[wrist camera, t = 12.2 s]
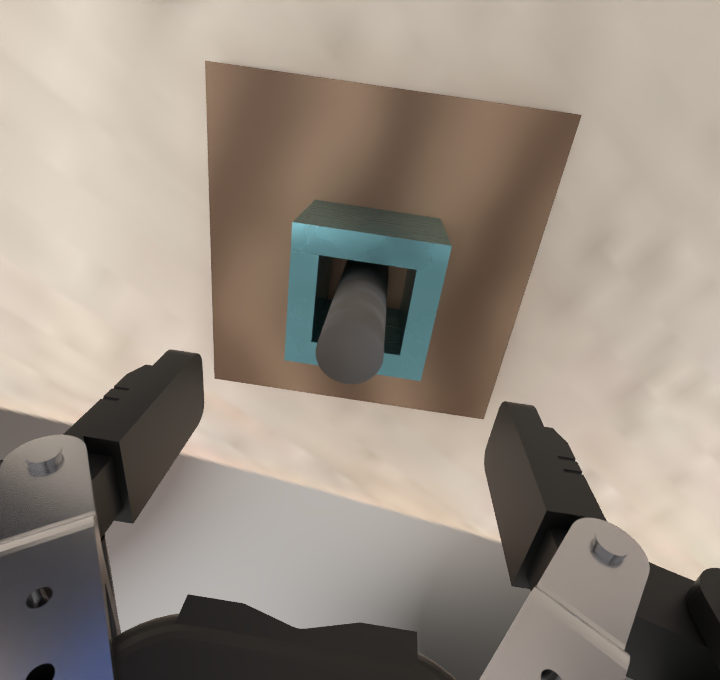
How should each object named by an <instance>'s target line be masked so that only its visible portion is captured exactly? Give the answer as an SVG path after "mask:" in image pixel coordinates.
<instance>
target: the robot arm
mask: <svg viewBox="0 0 720 680" xmlns="http://www.w3.org/2000/svg"><path fill="white" fill-rule="evenodd" d="M203 409H204V389H203V369H202V358H201V356H200V355H199V354H197V353H191V352H184V351H177V350H168V351H167V352H166V353H165V354H164V355H163V356H162V357H161V358H160V359H159V360H158V361H157V362H156V363H155V364H154V365H153V366H151V365H144V366H142V367H140V368H138V369H136V370H134V371H132V372H130V373H128V374H127V375H126V376H125V377H123V378H122V379H121V380H120V381H119V382H118V383H117V384H116V385H115V386H114V389H111V390H110V391H109V392H108V393H107V394H105V395H104V398H103V399H100V400H99V401H98V402H97V403H96V404H95V405H94V406H93V407H92V408H91V409H90V410H89V411H88V412H86V413H85V414H84V415H83V416H82V417H81V418H80V419H79V420H78V421H77V422H76V423H75V424H74V425H73V426H72V427H71V428H70V429H68V431H66V432H65V433H64V434H63V435H51V436H46V437H42V438H38V439H35V440H32V441H30V442H28V443H25V444H23V445H21V446H20V447H18V448H16V449H15V450H13V451H12V452H11V453H10V454H9V455H8V456H7V457H6V458H5V459H4V460H0V680H457V679H456V678H454V676H453V675H451V674H450V673H449V672H448V671H446V670H445V669H444V668H442V667H441V666H440V665H439V664H437V663H435V662H434V661H432V660H431V659H429V658H427V657H426V656H424V655H422V654H420V653H418V652H417V632H414V631H409V630H402V629H396V628H390V627H384V626H378V625H371V624H365V623H353V624H344V625H335V626H326V627H317V628H308V629H298V628H295V627H292V626H290V625H288V624H286V623H284V622H282V621H279V620H277V619H275V618H273V617H271V616H269V615H267V614H265V613H263V612H261V611H258V610H256V609H254V608H252V607H250V606H248V605H246V604H243V603H237V602H231V601H225V600H218V599H213V598H207V597H201V596H194V595H187V598H186V600H185V602H184V604H183V607H182V609H181V611H180V613H179V614H174V615H168V616H164V617H160V618H156V619H153V620H150V621H147V622H145V623H142V624H139V625H137V626H135V627H133V628H131V629H129V630H126V631H125V632H123V633H121V630H120V625H119V619H118V613H117V607H116V600H115V594H114V587H113V580H112V573H111V567H110V560H109V553H108V546H107V539H106V535H105V532H106V531H107V529H108V528H109V527H110V525H111V524H112V522H113V521H114V520H115V521H120V522H127V523H134V522H135V520H136V519H137V517H138V516H139V514H140V513H141V511H142V509H143V508H144V506H145V505H146V503H147V502H148V500H149V499H150V497H151V496H152V494H153V493H154V491H155V489H156V488H157V487H158V485H159V484H160V482H161V480H162V479H163V478H164V476H165V474H166V473H167V471H168V470H169V468H170V467H171V465H172V464H173V462H174V460H175V459H176V458H177V456H178V455H179V453H180V452H181V450H182V449H183V447H184V446H185V444H186V443H187V441H188V439H189V438H190V436H191V435H192V433H193V432H194V430H195V429H196V427H197V426H198V424H199V422H200V420H201V417H202V414H203ZM484 466H485V473H486V477H487V481H488V486H489V490H490V494H491V499H492V503H493V507H494V512H495V516H496V520H497V525H498V529H499V533H500V538H501V542H502V546H503V550H504V554H505V559H506V563H507V567H508V572H509V576H510V581H511V585H512V586H514V587H521V588H527V589H530V590H531V593H530V595H529V596H528V598H527V600H526V601H525V603H524V605H523V607H522V609H521V610H520V612H519V613H518V615H517V617H516V618H515V620H514V622H513V624H512V625H511V627H510V629H509V631H508V632H507V634H506V635H505V637H504V639H503V641H502V642H501V644H500V646H499V648H498V649H497V651H496V653H495V654H494V656H493V658H492V659H491V661H490V663H489V665H488V666H487V668H486V670H485V671H484V673H483V675H482V676H481V678H480V680H625V676H627V677H629V678H631V679H633V680H720V568H710V569H706V570H705V571H703V572H702V573H701V575H700V576H699V577H698V579H697V580H696V581H693V580H690V579H688V578H685V577H683V576H681V575H678V574H676V573H673V572H671V571H668V570H666V569H664V568H661V567H659V566H656V565H654V564H652V563H650V562H649V561H648V558H647V556H646V554H645V552H644V551H643V549H642V548H641V547H640V545H639V544H638V543H637V542H636V541H635V540H634V539H633V538H632V537H631V536H630V535H628V534H627V533H626V532H625V531H623V530H622V529H620V528H619V527H617V526H615V525H613V524H611V523H609V522H607V521H606V519H605V517H604V515H603V513H602V511H601V509H600V507H599V505H598V503H597V501H596V499H595V497H594V495H593V493H592V491H591V489H590V487H589V485H588V483H587V481H586V479H585V477H584V475H582V471H581V469H580V467H579V465H578V463H577V462H575V457H574V455H573V453H572V451H571V449H570V447H569V445H568V443H567V442H566V441H565V440H564V439H563V438H562V437H561V436H560V435H559V434H558V433H557V432H556V431H555V430H554V429H553V428H549V427H544V426H543V423H542V421H541V419H540V417H539V414H538V412H537V410H536V408H535V407H534V406H532V405H525V404H519V403H512V402H505V401H504V402H503V403H502V404H501V406H500V408H499V411H498V414H497V417H496V420H495V422H494V425H493V428H492V431H491V434H490V437H489V440H488V443H487V446H486V450H485V459H484Z"/></svg>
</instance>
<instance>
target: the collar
mask: <svg viewBox="0 0 720 680" xmlns="http://www.w3.org/2000/svg"><path fill="white" fill-rule="evenodd" d="M451 248H452V245H451V243H450V240H449V238H448V235H447V233H446V231H445V228H444V226H443V223H442V221H441V219H440V218H435V217H428V216H421V215H415V214H408V213H401V212H395V211H388V210H381V209H374V208H368V207H361V206H354V205H348V204H341V203H334V202H328V201H321V200H314V201H313V202H312V203H311V204H310V205H309V206H308V207H307V208H306V209H305V210H304V211H303V212H302V213H301V214H300V215H299V216H298V217H297V218H296V219H295V220H294V221H293V222H292V236H291V253H290V270H289V288H288V305H287V322H286V339H285V356H284V360H286V361H292V362H299V363H305V364H312V365H318V363H317V360H316V346H317V343H318V340H319V337H320V334H321V331H322V329H323V326H324V323H325V320H326V317H327V315H328V312H329V309H330V306H331V303H332V301H333V299H328V293H329V284H330V274H331V264H332V257H335V258H342V259H348V260H355V261H362V262H368V263H375V264H382V265H388V266H395V267H402V268H407V272H406V278H405V283H404V288H403V294H402V299H401V304H400V309H394V308H387V307H386V324H385V340H384V357H383V363H382V366H381V368H380V370H379V371H378V372H377V375H384V376H390V377H397V378H403V379H410V380H416V381H421V378H422V373H423V369H424V365H425V360H426V356H427V352H428V347H429V343H430V339H431V334H432V330H433V326H434V321H435V317H436V313H437V308H438V304H439V300H440V295H441V291H442V287H443V283H444V278H445V274H446V270H447V265H448V261H449V257H450V252H451ZM318 366H319V365H318Z"/></svg>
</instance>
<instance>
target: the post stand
mask: <svg viewBox="0 0 720 680" xmlns="http://www.w3.org/2000/svg"><path fill="white" fill-rule="evenodd" d="M205 69H206V103H207V137H208V170H209V204H210V238H211V272H212V305H213V339H214V373H215V379H221V380H228V381H235V382H241V383H248V384H254V385H261V386H268V387H274V388H281V389H287V390H294V391H301V392H307V393H314V394H320V395H327V396H334V397H340V398H347V399H353V400H360V401H367V402H373V403H380V404H386V405H393V406H400V407H406V408H413V409H419V410H426V411H433V412H439V413H446V414H452V415H459V416H466V417H472V418H479V419H484V416H485V413H486V410H487V407H488V404H489V400H490V397H491V394H492V391H493V388H494V385H495V382H496V379H497V376H498V373H499V369H500V366H501V363H502V360H503V357H504V354H505V351H506V348H507V345H508V342H509V338H510V335H511V332H512V329H513V326H514V323H515V320H516V317H517V314H518V311H519V307H520V304H521V301H522V298H523V295H524V292H525V289H526V286H527V283H528V279H529V276H530V273H531V270H532V267H533V264H534V261H535V258H536V255H537V252H538V248H539V245H540V242H541V239H542V236H543V233H544V230H545V227H546V224H547V221H548V217H549V214H550V211H551V208H552V205H553V202H554V199H555V196H556V193H557V189H558V186H559V183H560V180H561V177H562V174H563V171H564V168H565V165H566V162H567V158H568V155H569V152H570V149H571V146H572V143H573V140H574V137H575V134H576V131H577V127H578V124H579V121H580V118H581V115H578V114H571V113H564V112H557V111H550V110H543V109H536V108H529V107H522V106H515V105H508V104H501V103H494V102H487V101H480V100H473V99H467V98H460V97H453V96H446V95H439V94H432V93H425V92H418V91H411V90H404V89H397V88H390V87H383V86H376V85H369V84H362V83H356V82H349V81H342V80H335V79H328V78H321V77H314V76H307V75H300V74H293V73H286V72H279V71H272V70H265V69H258V68H251V67H245V66H238V65H231V64H224V63H217V62H210V61H205ZM314 200H321V201H328V202H334V203H341V204H348V205H354V206H361V207H368V208H374V209H381V210H388V211H395V212H401V213H408V214H415V215H421V216H428V217H435V218H440V219H441V221H442V223H443V226H444V228H445V231H446V233H447V235H448V238H449V240H450V243H451V245H452V248H451V252H450V257H449V261H448V265H447V270H446V274H445V278H444V283H443V287H442V291H441V295H440V300H439V304H438V308H437V313H436V317H435V321H434V326H433V330H432V334H431V339H430V343H429V347H428V352H427V356H426V360H425V365H424V369H423V373H422V378H421V381H416V380H410V379H403V378H397V377H390V376H384V375H377V372H378V371H379V370H380V368H381V366H382V363H383V357H384V340H385V324H386V307H387V308H394V309H400V304H401V299H402V294H403V288H404V283H405V278H406V272H407V268H402V267H395V266H388V265H382V264H375V263H368V262H362V261H355V260H348V259H342V258H335V257H332V264H331V274H330V284H329V293H328V299H333V301H332V303H331V306H330V309H329V312H328V315H327V317H326V320H325V323H324V326H323V329H322V331H321V334H320V337H319V340H318V343H317V346H316V360H317V363H318V365H319V366H318V365H312V364H305V363H299V362H292V361H286V360H284V356H285V339H286V322H287V305H288V288H289V270H290V253H291V236H292V222H293V221H294V220H295V219H296V218H297V217H298V216H299V215H300V214H301V213H302V212H303V211H304V210H305V209H306V208H307V207H308V206H309V205H310V204H311V203H312V202H313V201H314Z"/></svg>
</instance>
